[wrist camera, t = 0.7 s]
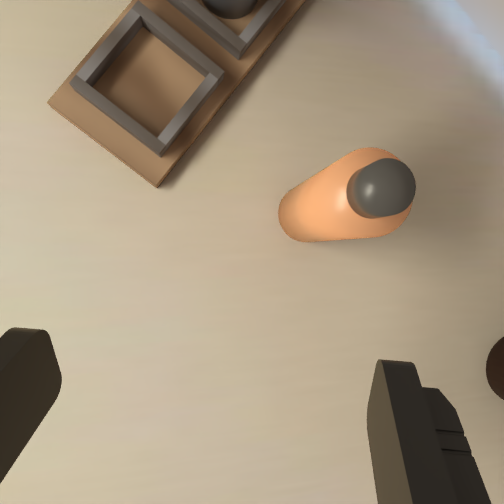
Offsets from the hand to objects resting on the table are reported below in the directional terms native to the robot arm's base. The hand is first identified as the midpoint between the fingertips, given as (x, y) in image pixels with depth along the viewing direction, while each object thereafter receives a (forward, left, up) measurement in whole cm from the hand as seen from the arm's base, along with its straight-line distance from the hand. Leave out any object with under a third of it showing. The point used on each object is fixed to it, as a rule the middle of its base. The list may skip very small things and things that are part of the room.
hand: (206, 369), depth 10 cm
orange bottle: (-2, +11, -24) cm, 26 cm away
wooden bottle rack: (-18, +8, -24) cm, 31 cm away
